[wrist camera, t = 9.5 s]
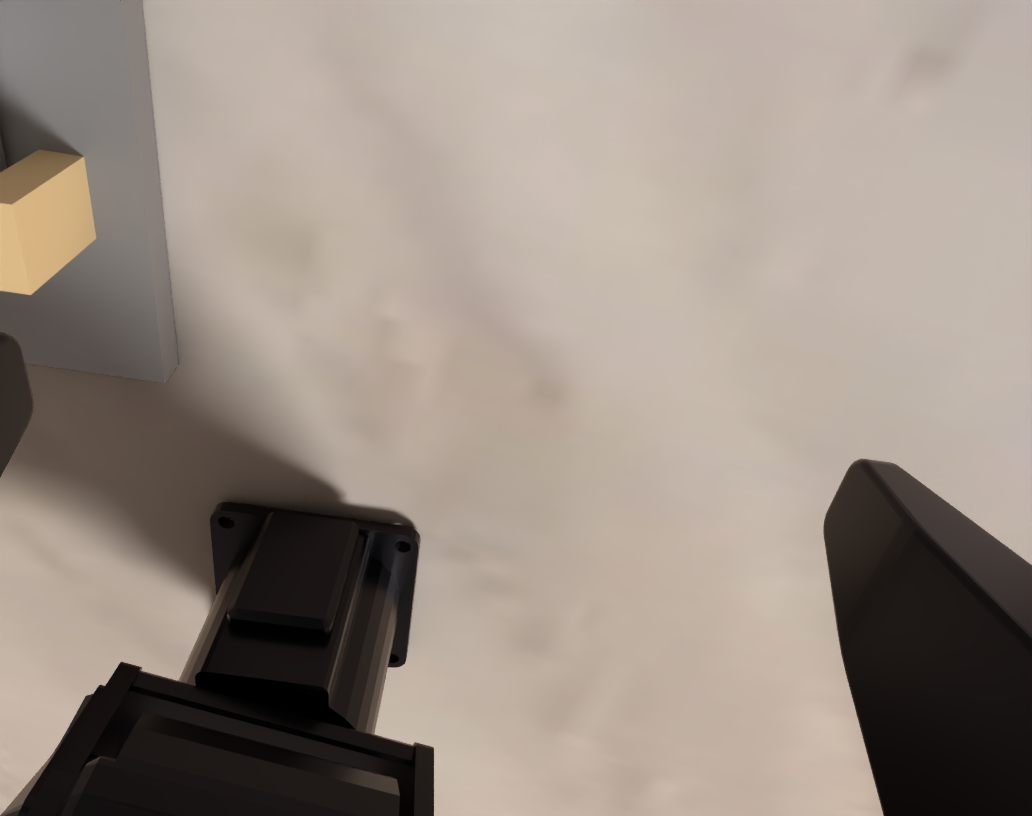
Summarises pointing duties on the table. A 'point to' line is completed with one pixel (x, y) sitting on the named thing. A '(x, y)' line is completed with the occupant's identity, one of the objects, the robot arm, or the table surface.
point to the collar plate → (82, 191)
